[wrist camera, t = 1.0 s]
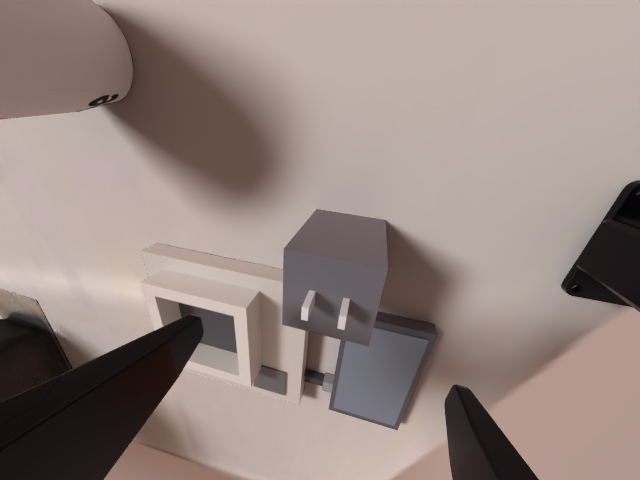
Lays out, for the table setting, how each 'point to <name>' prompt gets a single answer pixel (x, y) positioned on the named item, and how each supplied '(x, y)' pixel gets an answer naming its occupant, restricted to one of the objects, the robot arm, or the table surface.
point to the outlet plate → (229, 319)
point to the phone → (382, 370)
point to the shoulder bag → (26, 346)
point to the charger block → (335, 276)
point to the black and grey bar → (320, 379)
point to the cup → (60, 57)
